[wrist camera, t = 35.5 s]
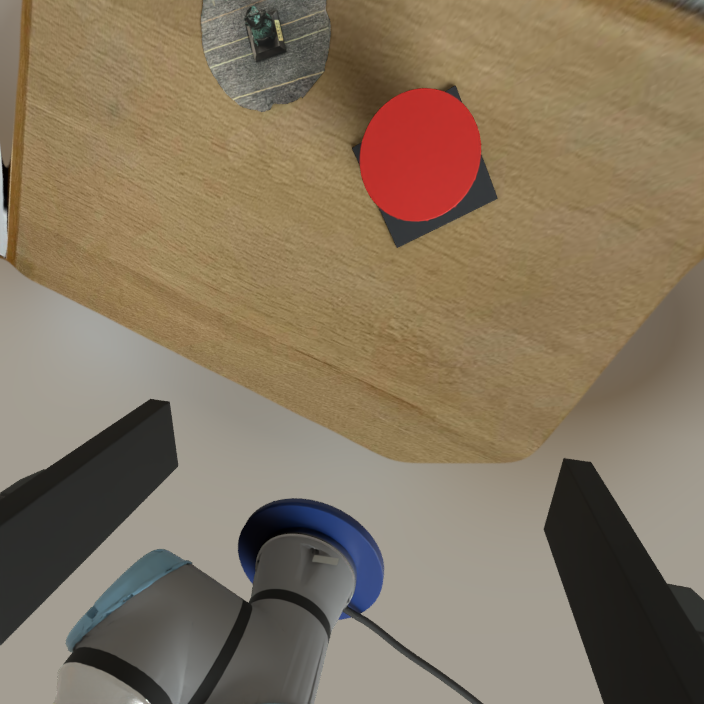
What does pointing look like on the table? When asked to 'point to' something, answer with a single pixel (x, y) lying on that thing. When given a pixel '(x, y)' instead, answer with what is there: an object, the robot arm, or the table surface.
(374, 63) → the table surface
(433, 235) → the table surface
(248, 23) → the sculpture
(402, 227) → the mat
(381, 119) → the lid
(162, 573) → the robot arm
